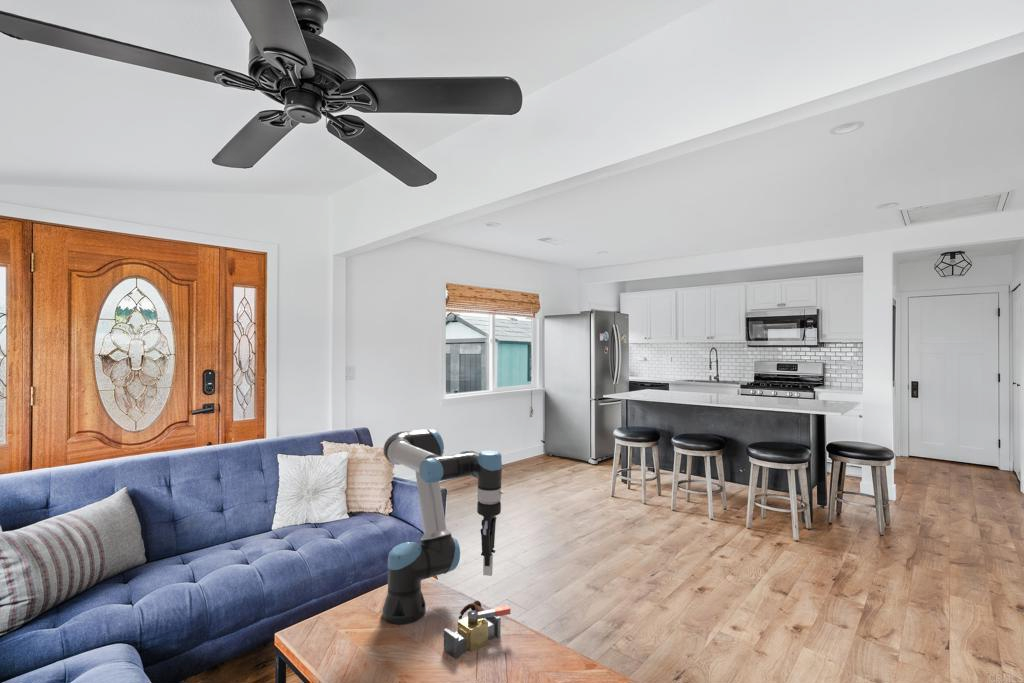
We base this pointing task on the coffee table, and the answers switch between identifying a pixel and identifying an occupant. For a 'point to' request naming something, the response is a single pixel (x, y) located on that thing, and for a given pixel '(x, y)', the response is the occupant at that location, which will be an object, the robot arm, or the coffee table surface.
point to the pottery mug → (473, 606)
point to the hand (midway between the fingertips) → (487, 574)
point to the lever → (487, 613)
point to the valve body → (471, 635)
